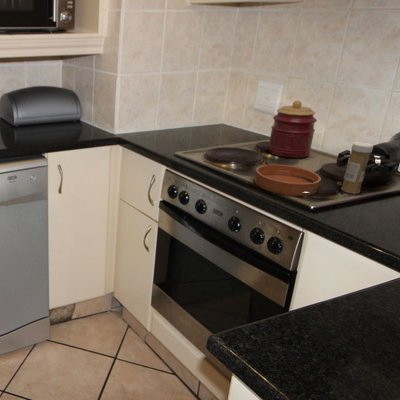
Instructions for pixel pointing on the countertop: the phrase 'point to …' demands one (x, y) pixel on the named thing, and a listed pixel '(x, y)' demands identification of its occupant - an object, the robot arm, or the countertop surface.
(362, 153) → the sprinkles bottle
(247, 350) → the countertop surface
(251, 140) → the countertop surface
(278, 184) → the terracotta round dish
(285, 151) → the kitchen canister
